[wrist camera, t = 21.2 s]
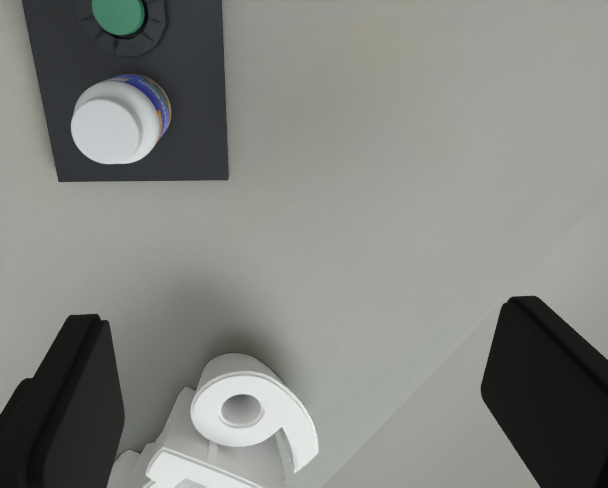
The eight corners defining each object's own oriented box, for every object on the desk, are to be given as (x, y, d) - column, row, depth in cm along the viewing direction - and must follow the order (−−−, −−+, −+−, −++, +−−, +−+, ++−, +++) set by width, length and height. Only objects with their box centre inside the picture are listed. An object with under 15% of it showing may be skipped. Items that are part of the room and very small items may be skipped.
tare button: (93, -17, 32) (87, -19, 30) (141, -15, 32) (137, -17, 31) (101, 34, 33) (95, 34, 32) (147, 35, 34) (143, 36, 32)
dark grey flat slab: (21, -41, 33) (2, -47, 30) (220, -31, 35) (219, -36, 32) (63, 177, 40) (51, 188, 37) (228, 175, 42) (228, 185, 39)
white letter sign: (152, 545, 61) (137, 639, 52) (38, 496, 55) (-2, 594, 45) (343, 384, 54) (366, 460, 44) (237, 307, 48) (237, 376, 38)
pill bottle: (183, 129, 38) (167, 160, 29) (121, 151, 38) (87, 188, 29) (154, 62, 36) (127, 73, 27) (88, 85, 36) (40, 104, 27)
